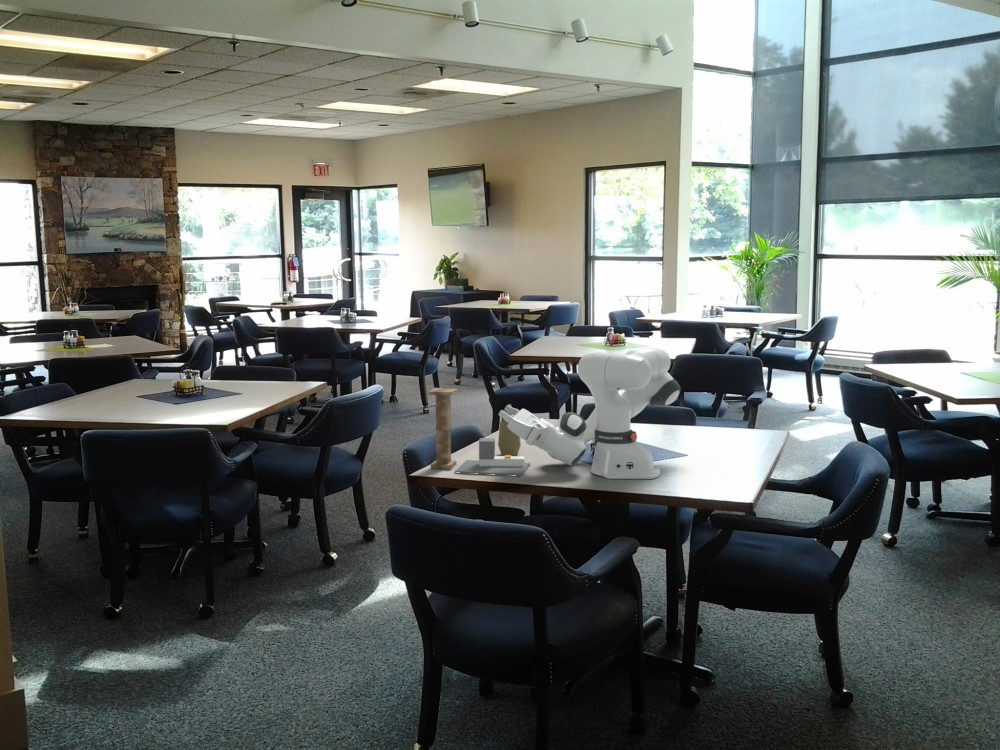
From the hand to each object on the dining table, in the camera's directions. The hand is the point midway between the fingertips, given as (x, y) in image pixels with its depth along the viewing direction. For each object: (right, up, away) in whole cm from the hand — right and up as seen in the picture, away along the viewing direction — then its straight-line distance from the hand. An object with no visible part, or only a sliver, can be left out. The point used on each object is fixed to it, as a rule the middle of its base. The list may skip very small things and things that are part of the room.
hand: (502, 409), depth 305 cm
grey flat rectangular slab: (-3, -20, +4) cm, 20 cm away
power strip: (0, -19, +6) cm, 20 cm away
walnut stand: (-20, -19, +7) cm, 29 cm away
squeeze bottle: (+2, -17, +25) cm, 30 cm away
